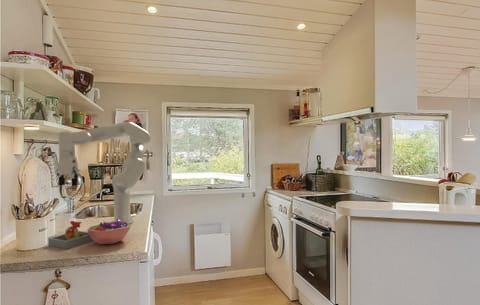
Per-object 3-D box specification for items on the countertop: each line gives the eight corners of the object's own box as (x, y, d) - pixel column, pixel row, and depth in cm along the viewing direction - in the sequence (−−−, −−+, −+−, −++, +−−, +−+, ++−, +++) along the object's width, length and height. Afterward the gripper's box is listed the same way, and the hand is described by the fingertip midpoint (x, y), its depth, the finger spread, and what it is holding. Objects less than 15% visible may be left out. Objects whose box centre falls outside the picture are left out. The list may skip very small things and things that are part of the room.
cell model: (90, 240, 151) (89, 218, 151) (131, 235, 158) (131, 214, 158) (85, 250, 135) (85, 226, 135) (132, 245, 142) (131, 221, 142)
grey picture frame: (76, 237, 156) (76, 230, 156) (94, 240, 151) (94, 233, 151) (48, 245, 143) (48, 238, 143) (66, 249, 137) (66, 241, 137)
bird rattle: (65, 247, 144) (81, 240, 144) (56, 227, 145) (72, 220, 144) (73, 243, 151) (88, 237, 150) (64, 224, 151) (79, 217, 150)
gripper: (84, 153, 163) (85, 184, 163) (62, 154, 169) (63, 184, 169) (72, 154, 156) (73, 186, 156) (49, 154, 162) (50, 185, 162)
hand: (68, 185), depth 163 cm, fingers open, 9 cm apart
